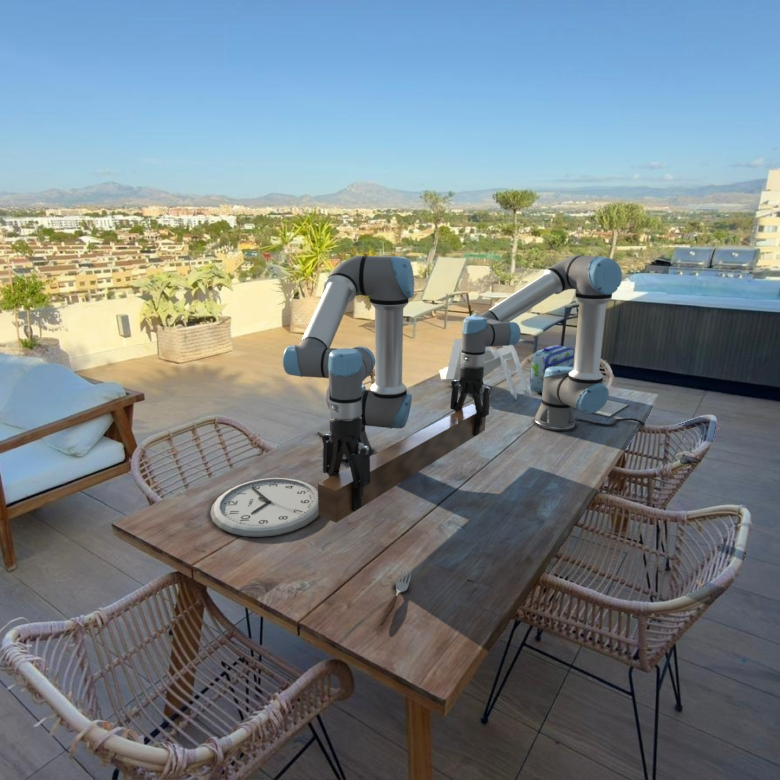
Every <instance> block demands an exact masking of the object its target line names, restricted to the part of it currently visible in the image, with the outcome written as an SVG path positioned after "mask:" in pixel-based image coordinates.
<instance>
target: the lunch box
mask: <svg viewBox="0 0 780 780" xmlns="http://www.w3.org/2000/svg"><path fill="white" fill-rule="evenodd" d="M574 358H575V348H573V347H571V346H570V347H568V346H563V345H551V346H548V347H544V348H543V349H539V350H536V351H535V352H534V354H533V356H532V358H531V363H530V374H529V391H532V392H536V393H540V394H542V391H543V380H544V374H545V370H546V369H547V368H549V367H556V366H565V367H574Z"/></svg>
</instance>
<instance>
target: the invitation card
mask: <svg viewBox="0 0 780 780" xmlns="http://www.w3.org/2000/svg"><path fill="white" fill-rule="evenodd" d="M628 406H629V404H627V403H623V402H618V401H614V400H609V399H608V400H607V402H606V404H605V405H604V406H603V407H602V408H601V409H600V410H599V411H597V412H595V413H594V414H596V415H600V416H604V417H608V418H609V417H611V416H613V415H614V414H616V413H617V412H619V411H621V410H623V409H624V408H626V407H628Z"/></svg>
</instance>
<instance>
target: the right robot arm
mask: <svg viewBox="0 0 780 780" xmlns="http://www.w3.org/2000/svg"><path fill="white" fill-rule="evenodd" d="M622 280H623V272H622V269H621V266H620V265H619V263H618V262H617V261H616V260H615V259H613V258H610V257H605V256H598V255H597V256H596V255H584V254H582V255H581V254H577V255H572V256H569V257H567V258H565V259H563V260H561V261H559V262H557V263H555V264H554V265H552V266H550V267H548V268H547V269H545V270H544V271H543V273H542V275H541V276H540V277H538V278H537V279H534V281H532V282H530V283H529V284H527V285H526V286H524V287H522V288H521V289H519V290H517V291H516V292H515V293H513V294H511V295H510V296H508V297H506V298H505V299H503V300H501V301H500V302H499V303H497V304H496V305H494V306H493V307H491V308H489V309H488V310H486V311H485V312H483V313H481V314H479V313H477V314H475V313H474V314H471V315H470V316H467V317H465V318H464V319H463V323H462V329H461V339H462V351H461V364H462V365H461V366H460V379H459V380H454V381H452V382H451V384H450V385H451V388H452V389H451V397H450V406H449V408H450V409H451V410H453V411H454V413H455V412H457V411H459V410H461V409H463V408H464V407H463V406H464V403H465V402H466V398H467V395H468V394H470V395H471V397H472V398H473V404H474V405H475V408H476V413H477V416H476V417H475V421H474V435H473V436H475V437H477V436H479V435H480V434H479V432H480V426H482V423H483V417H486V418H487V417H488V416H489V415H490V394H491V391H492V386H487V385H486V384H484V377H483V374H484V367H483V365H484V360H485V348H486V347H503V346H509V345H513V346H514V345H517V344H518V343H519V341H520V340H521V334H522V332H521V327H520V325H519V323H517V322H516V321H513V320H515V319H516V318H518V317H520V316H522V315H523V314H524V313H526V312H527V311H529V310H531V309H532V308H534V307H535V306H537V305H539V304H540V303H542V302H543V301H545V300H546V299H548V298H550V297H551V296H553V295H560V294H561V293H563V292H565V291H567V290H568V291H569V290H575V295H574V297H575V299H576V300H577V301H578V312H577V313H578V314H577V325H576V328H577V329H576V338H575V348H574V364H573V367H565V366H556V367H549V368H547V369H546V370H545V374H544V380H543V391H542V393H541V402H540V405H537V406H536V410H537V411H536V413H535V417H534V424H535V425H536V426H537V427H539V428H542V429H544V430H549V431H556V432H567V431H572V430H574V429H575V428H576V422H580V423H586V424H591V425H597V426H604V427H613V426H615V425H616V424H617V422H622V421H623V422H624V421H631V422H632V421H633V422H637V423H639V424H640V425H642V426H646V424H645V423H644V422H643V421H641V420H640V419H637V418H634V417H633V418H632V417H626V418H616V419H614V421H613V423H605V422H604V423H603V422H597V421H591V420H586V419H581V418H575V417H576V416H575V413H574V409H575V410H577V411H578V412H580V413H585V414H588V415H590V414H591V415H592V414H596V413H595V412H597V411H599V410H600V409H601V408H602V407H603V406H604V405H605V404H606V402H607V400H609V396H610V392H609V389H608V387H607V386H606V385H605V384H604V374H603V373H602V372H601V371H600V369H601V357H602V349H603V338H604V331H605V330H604V329H605V319H606V310H607V303H608V302H609V301H610V300H611V299H612V297H613V294H614V293H615V292H617V290H618V288H619V287H620V286H621V284H622ZM460 387H461V390H460ZM481 390H482V399H481ZM459 391H460V392H459ZM459 394H460V395H459Z"/></svg>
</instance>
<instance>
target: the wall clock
mask: <svg viewBox="0 0 780 780" xmlns="http://www.w3.org/2000/svg"><path fill="white" fill-rule="evenodd" d="M210 517H211V520H212V523H214V524H215V525H216V526H217V527H218V528H219V529H221V530H223V531H225V532H227V533H229V534H231V535H236V536H242V537H253V538H254V537H256V538H263V537H272V536H279V535H283V534H288V533H291V532H294V531H296V530H299V529H301V528H303V527H306V526H307V525H309V524H310V523H312V522H313V521H315V520H316V519H317V518H318V517H320V515H318V488H316V487H315V486H313V484H310V483H308V482H305V481H302V480H299V479H293V478H286V477H285V478H284V477H283V478H282V477H270V478H261V479H255V480H251V481H247V482H243V483H241V484H238V485H236V486H233V487H231V488H230V489H228V490H225V492H224V493H222V494H221V495H220V496H218V497H217V499H216V500H215V501H214V503H213V504H212V505H211V509H210Z"/></svg>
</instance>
